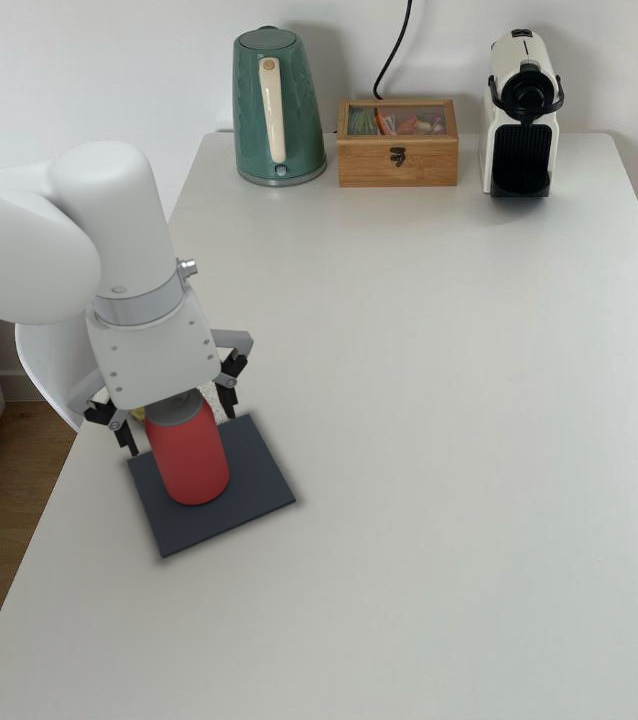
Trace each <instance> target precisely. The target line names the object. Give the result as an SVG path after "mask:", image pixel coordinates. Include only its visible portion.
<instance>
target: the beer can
mask: <svg viewBox="0 0 638 720" xmlns="http://www.w3.org/2000/svg"><path fill="white" fill-rule="evenodd" d="M144 414H145V415H144V425H143V428H144V429H143V430H144V432H145V433H144V434H145V435H146V438H147V441H148V443H149V446H150V449H151V451H152V452H153V454H154V457H155V460H156V462H157V465H158V468H159V471H160V473H161V476H162V479H163V481H164V484H165V487H166V489H167V491H168V493H169V495H170V497H172V498H173V499H174V500H176V501H177V502H180V503H183V504H186V505H197V504H202V503H206V502H208V501H210V500H212V499H214V498H215V497H217V496H218V495H219V494H220V493H222V491H223V490H224V488H225V487H226V486H227V484H228V480H229V476H230V475H229V468H228V464H227V461H226V457H225V454H224V450H223V446H222V443H221V439H220V436H219V432H218V428H217V425H218V424H217V421H216V418H215V415H214V411H213V408H212V407H211V405H210V403H209V402H208V400H207V399H206V398H205V397H204V395H203V393H202V392H201V390H200V389H199V388H198V387H195V388H193V389H190V390H187V391H185V392H182V393H179V394H176V395H174V396H171V397H168V398H165V399H163V400H160V401H157V402H154V403H151V404H148V405H145V406H144Z"/></svg>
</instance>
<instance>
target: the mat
mask: <svg viewBox="0 0 638 720" xmlns="http://www.w3.org/2000/svg"><path fill="white" fill-rule="evenodd" d="M216 425H217V428H218V432H219V436H220V439H221V443H222V446H223V450H224V454H225V457H226V461H227V464H228V468H229V475H230V476H229V480H228V484H227V486H226V487H225V488H224V490H223V491H222V493H220V494H219V495H218V496H217V497H215V498H214V499H212V500H210V501H208V502H206V503H202V504H197V505H186V504H183V503H180V502H177V501H176V500H174V499H173V498H172V497H170V495H169V493H168V491H167V489H166V487H165V484H164V481H163V479H162V476H161V473H160V471H159V468H158V465H157V462H156V460H155V457H154V454H153V452H152V450H149V451H146V452H143V453H141V454H138V455H137V456H135V457H131V458H128V459H126V462H127V465H128V467H129V470H130V473H131V475H132V478H133V481H134V484H135V486H136V489H137V492H138V495H139V497H140V500H141V503H142V506H143V508H144V511H145V515H146V517H147V519H148V522H149V524H150V527H151V530H152V533H153V535H154V536H153V537H154V539H155V541H156V544H157V547H158V549H159V552H160V555H161V557H162V559H165V558H168V557H170V556H173V555H174V554H177V553H179V552H181V551H183V550H186V549H188V548H190V547H193V546H195V545H197V544H199V543H202V542H205V541H207V540H209V539H211V538H214V537H216V536H218V535H221V534H223V533H225V532H227V531H230V530H232V529H235V528H237V527H239V526H241V525H244V524H247V523H248V522H251V521H253V520H256V519H258V518H260V517H262V516H265V515H266V514H269V513H272V512H274V511H277V510H279V509H281V508H283V507H285V506H288V505H290V504H293V503H295V502H296V501H297V499H296V497H295V495H294V493H293V492H292V489H291V488H290V486H289V484H288V482H287V480H286V479H285V477H284V475H283V473H282V472H281V470H280V468H279V466H278V464H277V462H276V460H275V459H274V457H273V455H272V453H271V451H270V449H269V448H268V446H267V444H266V442H265V440H264V439H263V436H262V435H261V433H260V431H259V429H258V427H257V426H256V424H255V421H254V420H253V418H252V416H251V414H250V413H249V412H248V413H245V414H243V415H241V416H238V417H236V418H234V419H232V420H231V419H229V420H228V421H225V422H222V423H219V424H216Z"/></svg>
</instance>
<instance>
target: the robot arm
mask: <svg viewBox="0 0 638 720" xmlns="http://www.w3.org/2000/svg"><path fill="white" fill-rule="evenodd" d="M198 273H199V270H198V267H197V264H196V262H195V260H194V258H189V259H186V260H185V259H181V260H180V259H179V257H176V254H175V249H174V246H173V242H172V238H171V234H170V231H169V228H168V223H167V220H166V215H165V213H164V209H163V205H162V201H161V198H160V195H159V191H158V186H157V183H156V179H155V175H154V171H153V169H152V166H151V163H150V161H149V159H148V157H147V156H146V155H145V153H144V152H143V151H142V150H141V148H139V147H137V146H135V145H134V144H132V143H130V142H127V141H123V140H116V139H99V140H98V139H97V140H92V141H87V142H83V143H81V144H77V145H74V146H73V147H70V148H68V149H66V150H65V151H63V152H62V153H60V154H59V155H58V156H55V157H53V158H48V159H42V160H39V161H33V162H28V163H27V162H26V163H22V164H17V165H10V166H3V167H0V320H1V321H4V322H9V323H12V324H18V325H23V326H50V325H55V324H59V323H63V322H65V321H68V320H70V319H72V318H74V317H76V316H77V315H79V314H81V313H82V312H83V311H84V310H85V323H86V327H87V333H88V338H89V341H90V345H91V349H92V352H93V355H94V358H95V359H94V360H95V362H96V365H97V366H96V367H95V368H94V369H93V370H92V371H90V372H89V373H88V374H87V375H86V376H85V377H84V378H82V379H81V380H80V381H79V382H77V383H76V384H75V385H74V386H73V387H71V388H70V389H69V390H68V391H66V393H65V394H64V395H63V398H64V402H65V405H66V408H67V409H69V410H71V411H72V412H74V413H75V414H77V415H78V416H82V417H83V418H84V419H85V420H86V421H87V422H89V423H93V424H98V425H102V426H105V427H107V429H108V430H109V431H112V432H113V434H114V436H115V438H116V441H117V443H118V446H119V448H120V449H122V448H125V447H128V450H129V452H130V455H131V458H133V457H136V456H138V455H140V451H139V449H138V446H137V443H136V441H135V439H134V436H133V433H132V431H131V428H130V425H129V423H128V420H127V418H128V417H129V414H130V411H131V409H136V408H139V407H142V406H145V405H148V404H151V403H154V402H157V401H160V400H163V399H165V398H168V397H171V396H174V395H176V394H179V393H182V392H185V391H187V390H190V389H193V388H195V387H196V388H198V387H201V386H203V385H205V384H207V383H210V382H213V383H214V387H215V390H216V394H217V398H218V401H219V404H220V405H221V408H222V410H223V412H224V414H225V415H226V417H227V419H228V420H232V419H235V418H237V416H236V412H235V408H234V406H237V405H239V400H238V396H237V392H236V386H237V385H238V379H237V378H238V377H239V376H240V375H241V373H242V372H243V371H244V369H245V368H246V367H247V365H248V363H249V360H248V357H249V356H250V354H251V351H252V350H253V349H252V348H253V346H254V343H255V340H254V339H253V337H252V335H251V334H250V332H248V331H246V330H233V329H232V330H231V329H220V328H219V329H218V328H217V329H216V328H210V325H209V322H208V319H207V317H206V315H205V312H204V310H203V308H202V306H201V304H200V301H199V299H198V296H197V294H196V291H195V290H194V288H193V286H192V284H191V282H190V281H189V279H188V278H191V276H194V275H197V274H198ZM217 348H221V349H222V348H223V349H231V351H230V352H229V353H228V355H227V356H226V358H225V359H224V360H223V359H221V358H220V356H219V353H218V349H217ZM103 388H106V391H107V393H108V394H107V396H106V398H105V400H104V402H99V401H95V400H91V398H93V396H95V395H96V394H97V393H98V392H100V391H101V390H102V389H103Z"/></svg>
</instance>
